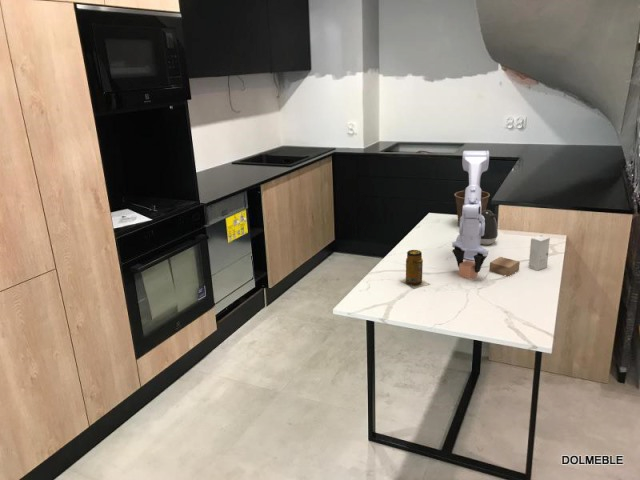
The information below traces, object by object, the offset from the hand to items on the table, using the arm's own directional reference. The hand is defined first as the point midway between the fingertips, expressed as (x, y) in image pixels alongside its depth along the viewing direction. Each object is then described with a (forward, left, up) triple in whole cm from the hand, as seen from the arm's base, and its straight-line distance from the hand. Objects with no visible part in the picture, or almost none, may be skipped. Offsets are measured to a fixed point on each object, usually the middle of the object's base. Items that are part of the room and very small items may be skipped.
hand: (468, 269), depth 191 cm
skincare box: (+14, +25, -3) cm, 29 cm away
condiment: (-10, -19, -3) cm, 22 cm away
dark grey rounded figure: (-16, +35, -3) cm, 39 cm away
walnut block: (+7, +13, -3) cm, 15 cm away
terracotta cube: (0, 0, -3) cm, 3 cm away
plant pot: (-35, +51, -3) cm, 62 cm away
